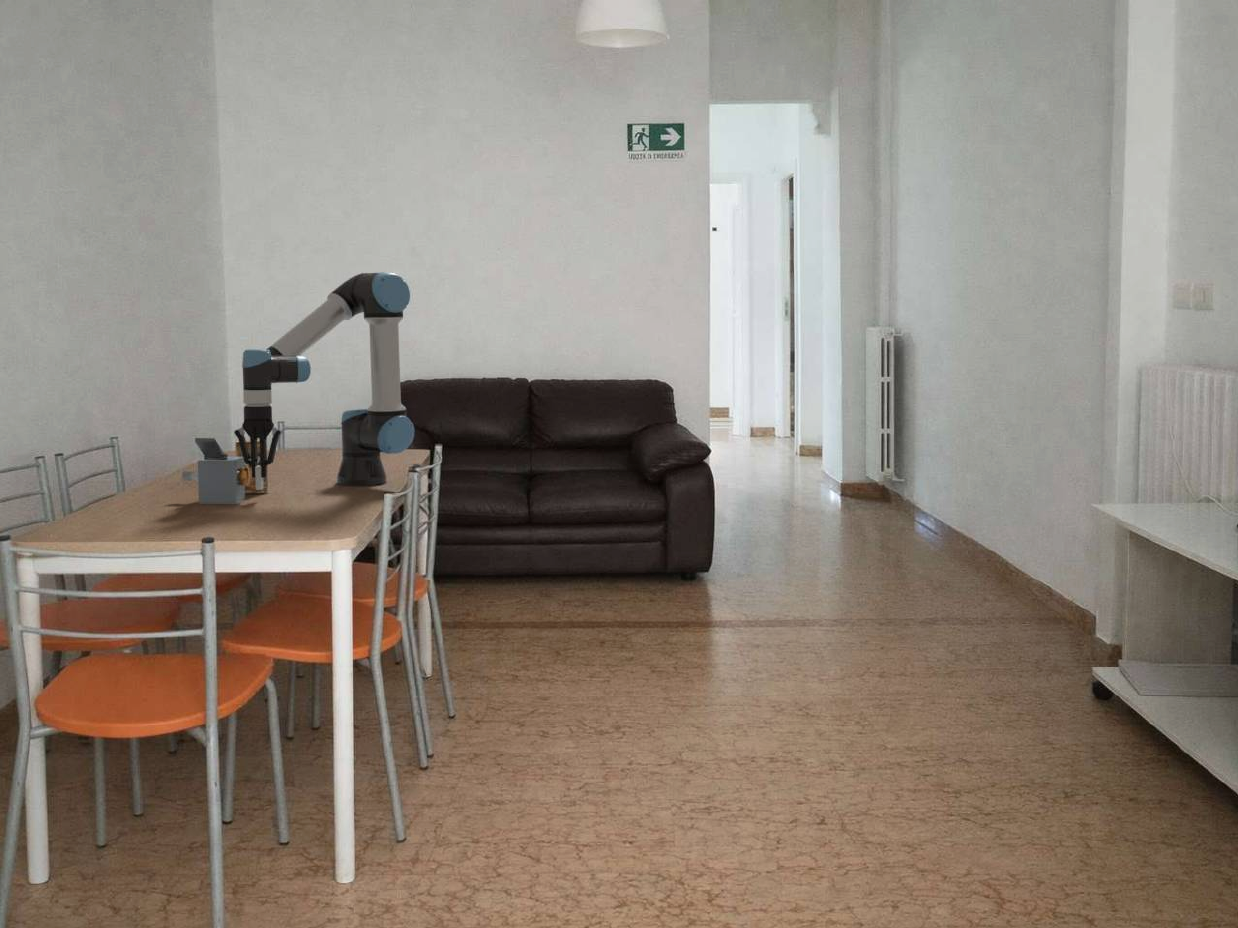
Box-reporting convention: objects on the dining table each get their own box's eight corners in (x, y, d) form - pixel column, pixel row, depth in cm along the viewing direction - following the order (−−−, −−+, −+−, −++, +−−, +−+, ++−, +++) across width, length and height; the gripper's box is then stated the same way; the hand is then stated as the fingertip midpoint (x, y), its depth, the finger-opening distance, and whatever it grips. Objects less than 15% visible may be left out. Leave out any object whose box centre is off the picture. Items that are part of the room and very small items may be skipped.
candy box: (236, 494, 366) (235, 441, 365) (236, 492, 370) (235, 440, 369) (268, 493, 369) (267, 441, 367) (267, 491, 373) (266, 439, 371)
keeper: (227, 460, 347) (228, 455, 347) (215, 442, 335) (216, 437, 336) (205, 460, 347) (206, 455, 347) (192, 442, 335) (193, 437, 336)
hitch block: (245, 498, 358) (244, 456, 356) (235, 503, 348) (234, 460, 346) (209, 498, 357) (208, 456, 356) (198, 503, 348) (197, 460, 346)
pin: (251, 484, 355) (250, 466, 354) (246, 487, 350) (246, 468, 349) (186, 484, 354) (186, 465, 354) (181, 486, 349) (180, 468, 349)
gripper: (284, 404, 354) (286, 487, 357) (237, 403, 353) (239, 487, 356) (278, 406, 346) (279, 491, 349) (230, 405, 346) (232, 490, 349)
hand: (259, 489), depth 353 cm, fingers closed
